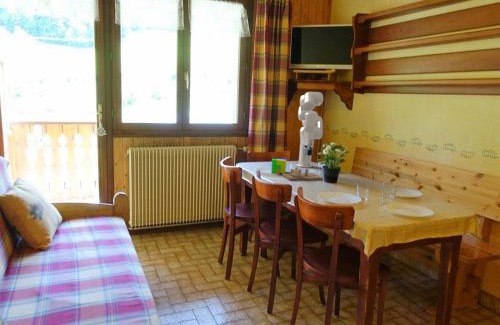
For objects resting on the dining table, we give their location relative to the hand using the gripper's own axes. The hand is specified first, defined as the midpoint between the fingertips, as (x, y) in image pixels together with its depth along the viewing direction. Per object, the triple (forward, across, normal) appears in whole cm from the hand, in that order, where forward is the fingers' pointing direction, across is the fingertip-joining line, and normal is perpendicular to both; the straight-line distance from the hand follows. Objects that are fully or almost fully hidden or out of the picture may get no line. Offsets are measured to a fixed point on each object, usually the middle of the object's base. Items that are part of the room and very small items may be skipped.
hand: (307, 153), depth 285 cm
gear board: (+14, +15, -10) cm, 23 cm away
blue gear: (+1, 0, 0) cm, 1 cm away
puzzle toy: (+15, -3, -20) cm, 25 cm away
